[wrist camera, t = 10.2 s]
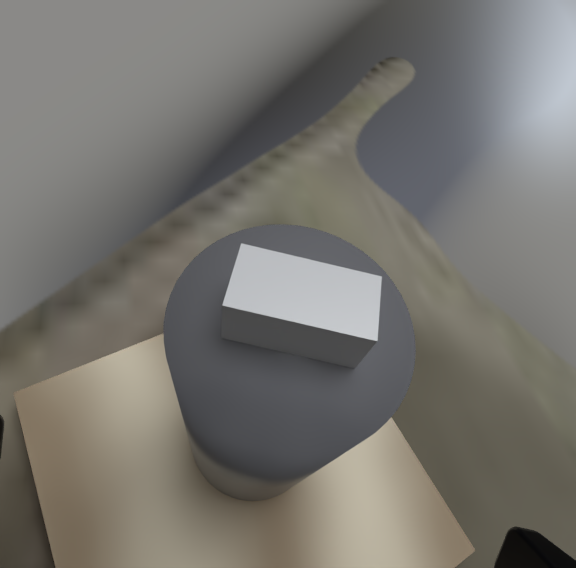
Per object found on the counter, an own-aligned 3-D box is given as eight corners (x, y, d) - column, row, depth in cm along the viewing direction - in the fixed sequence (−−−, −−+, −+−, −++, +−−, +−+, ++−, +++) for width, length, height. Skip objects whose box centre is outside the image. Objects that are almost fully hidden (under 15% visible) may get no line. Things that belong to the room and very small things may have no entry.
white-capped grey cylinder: (306, 514, 14) (451, 478, 5) (172, 485, 14) (101, 400, 5) (323, 384, 16) (442, 216, 8) (210, 358, 16) (204, 159, 8)
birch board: (130, 813, 11) (121, 841, 10) (26, 402, 16) (13, 392, 15) (458, 549, 15) (475, 550, 14) (299, 291, 20) (303, 278, 19)
